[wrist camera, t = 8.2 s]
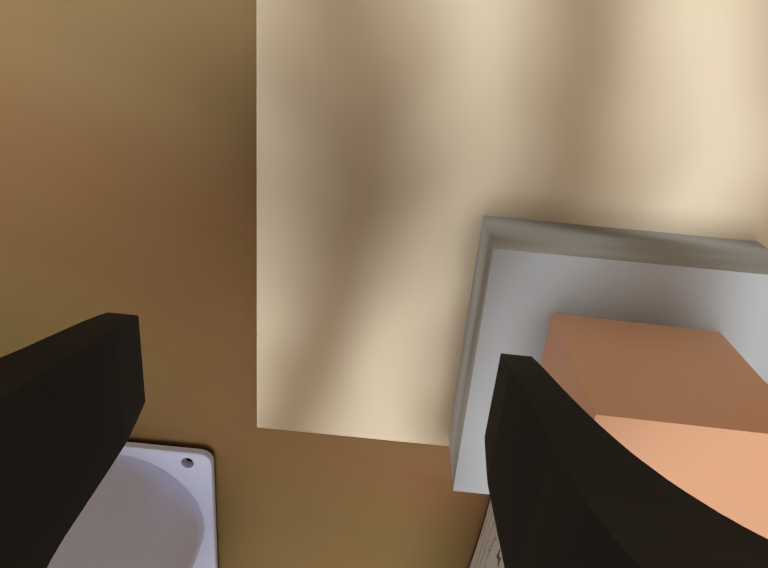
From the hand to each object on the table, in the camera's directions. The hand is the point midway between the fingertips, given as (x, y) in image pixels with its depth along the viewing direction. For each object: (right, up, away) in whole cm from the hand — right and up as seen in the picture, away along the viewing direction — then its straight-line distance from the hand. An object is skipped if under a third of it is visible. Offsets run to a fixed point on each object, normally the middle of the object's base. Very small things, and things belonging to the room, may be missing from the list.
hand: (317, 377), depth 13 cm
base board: (+6, +4, +9) cm, 12 cm away
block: (+9, -2, +7) cm, 11 cm away
